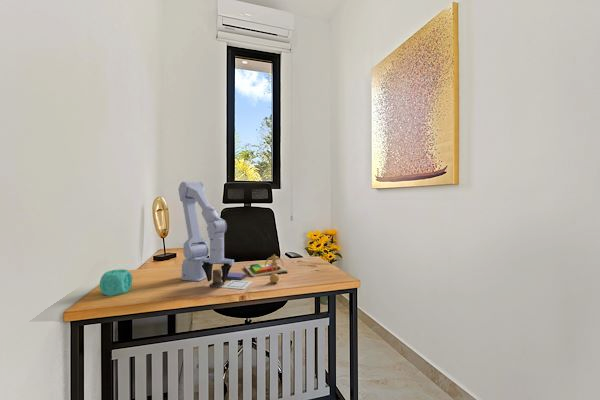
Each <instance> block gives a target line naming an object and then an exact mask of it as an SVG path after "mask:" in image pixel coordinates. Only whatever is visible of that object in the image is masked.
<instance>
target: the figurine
mask: <svg viewBox="0 0 600 400" xmlns="http://www.w3.org/2000/svg"><path fill="white" fill-rule="evenodd" d="M269 260H271V261H272V262H273V263H271V267H272V274H271V275H269V280H270V282H271V283H272V284H276V283H277V282H279V280H280V276H279V274H278V273H276V270H277V263H278V262H277V260H280V262H281V264H282V267H283V266H284V262H283V260H282V258H280V257H279V256H277V255H276V254H273V255H271V256H270V257H268V258H267V259H266V261H265V262H266V263H267V262H269ZM265 262H264V263H265ZM266 263H265V266H266ZM274 265H275V267H276V269H275V274H274V273H273V267H274Z"/></svg>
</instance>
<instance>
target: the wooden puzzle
mask: <svg viewBox="0 0 600 400" xmlns="http://www.w3.org/2000/svg"><path fill="white" fill-rule="evenodd" d="M265 263H266V261H265V262H261V263H260V262H259V263H254V264H250V266H246V265H243V268H244V270H246V271H247V272H248V274H249V275H250V277H252V278H257V277H263V276H265V277H266V276H271V275H272V267H271V263H273V262H272V260H271V261H267V263H266V266H265ZM276 263H277V270H276V273H277V274H279V273H286V274H288V273H289V271H288V270H287V269H286V268H284V267H283V266H282V265H280V264H279V263H278V262H276ZM275 269H276V267H275V265H274V267H273V273H274V274H275Z"/></svg>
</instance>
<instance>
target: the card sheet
mask: <svg viewBox="0 0 600 400" xmlns="http://www.w3.org/2000/svg"><path fill="white" fill-rule="evenodd" d="M253 282H254V281H252V280H241V281H240V280H230V281H228V282H227V283H224V285H223V286H221V287H220V288H223V289H235V290H246V289H247V287H249V286H250V285H251V284H253Z"/></svg>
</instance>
